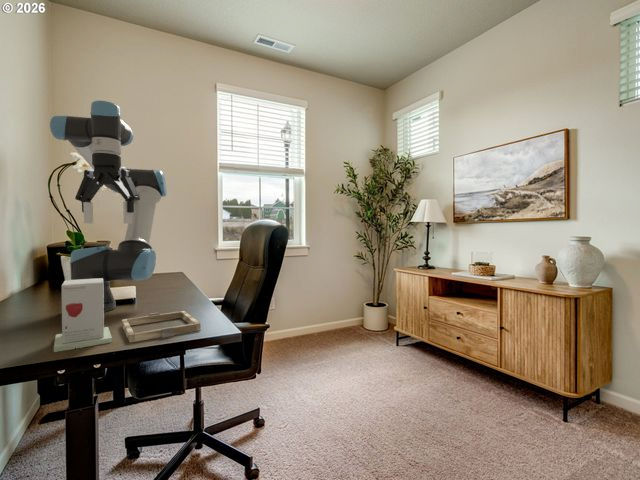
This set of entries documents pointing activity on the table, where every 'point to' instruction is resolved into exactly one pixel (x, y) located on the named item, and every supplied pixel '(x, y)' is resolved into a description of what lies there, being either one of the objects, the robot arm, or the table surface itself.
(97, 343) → the coaster pad
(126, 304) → the table surface
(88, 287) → the supplement box
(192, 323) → the birch collar
